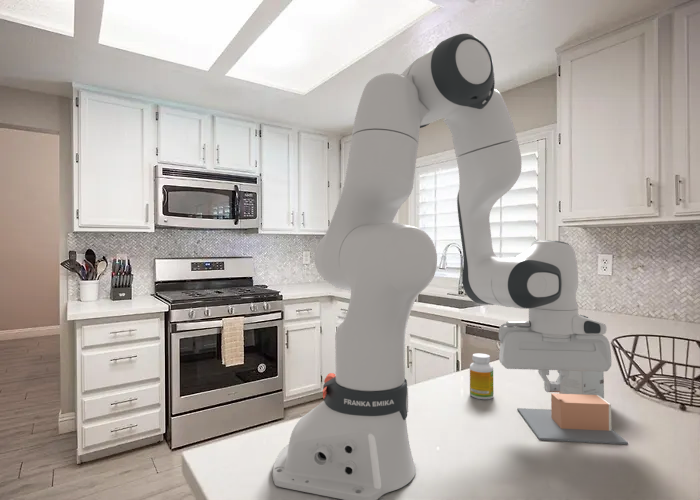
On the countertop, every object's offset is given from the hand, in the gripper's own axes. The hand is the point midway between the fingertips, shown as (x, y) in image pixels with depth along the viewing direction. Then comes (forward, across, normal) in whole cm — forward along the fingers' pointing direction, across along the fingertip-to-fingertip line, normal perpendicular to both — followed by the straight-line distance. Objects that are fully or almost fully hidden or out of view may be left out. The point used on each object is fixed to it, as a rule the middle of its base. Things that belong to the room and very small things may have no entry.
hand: (553, 391), depth 80 cm
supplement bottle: (+7, -11, +15) cm, 20 cm away
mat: (+7, +2, 0) cm, 7 cm away
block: (+4, 0, 0) cm, 4 cm away
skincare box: (+7, +11, +14) cm, 19 cm away
